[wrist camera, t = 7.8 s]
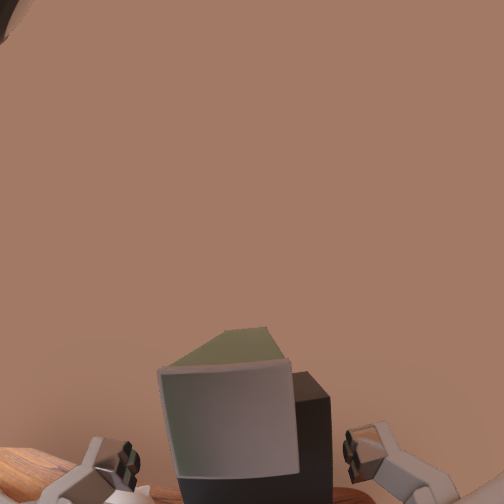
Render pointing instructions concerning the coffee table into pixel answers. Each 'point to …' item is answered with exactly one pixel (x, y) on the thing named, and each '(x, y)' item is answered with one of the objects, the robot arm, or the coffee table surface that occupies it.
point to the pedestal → (285, 486)
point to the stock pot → (35, 502)
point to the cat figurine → (132, 496)
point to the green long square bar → (231, 409)
